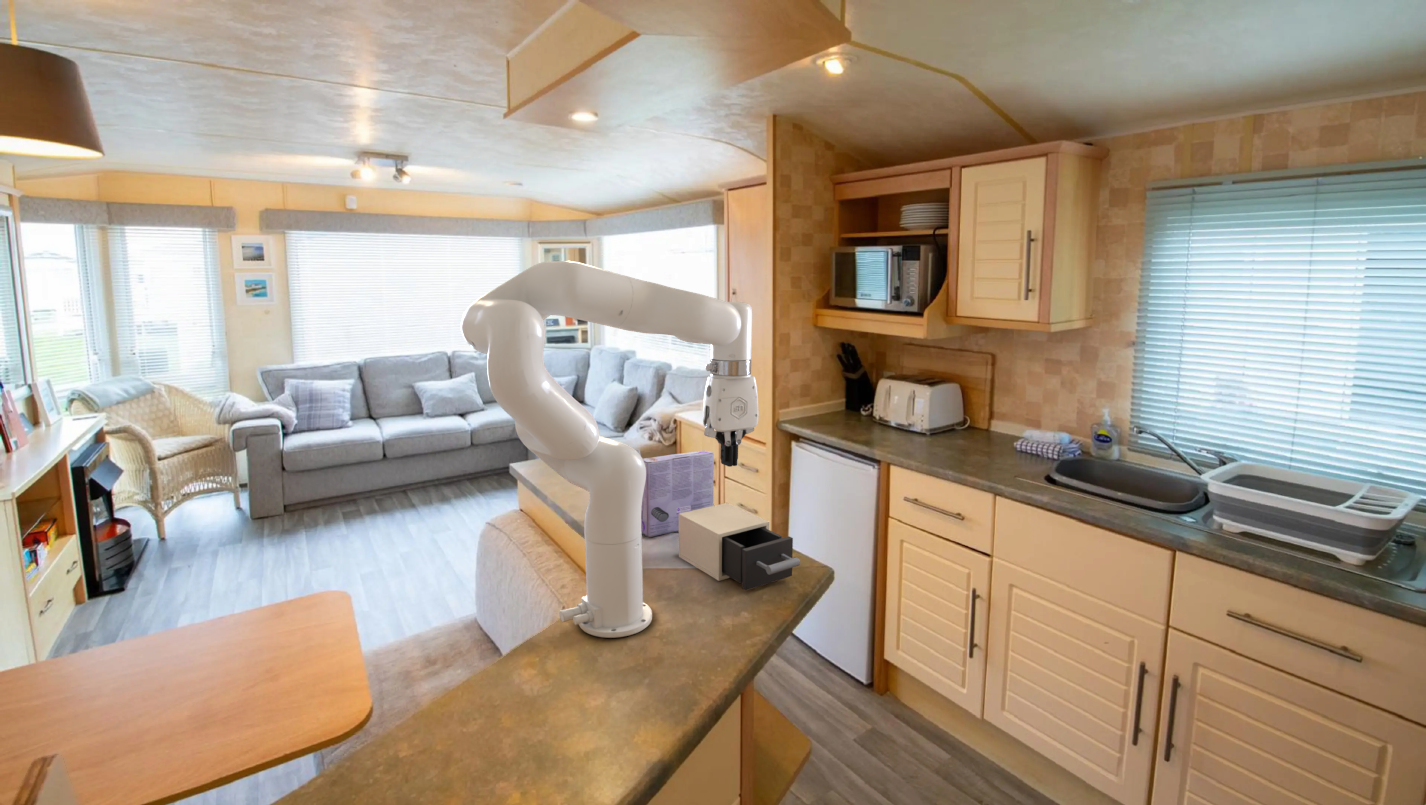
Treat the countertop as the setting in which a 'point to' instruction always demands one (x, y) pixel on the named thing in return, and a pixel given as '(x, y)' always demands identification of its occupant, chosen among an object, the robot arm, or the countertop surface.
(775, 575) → the black drawer
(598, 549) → the robot arm
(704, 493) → the cake pan box
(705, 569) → the cream drawer cabinet
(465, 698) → the countertop surface
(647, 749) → the countertop surface
